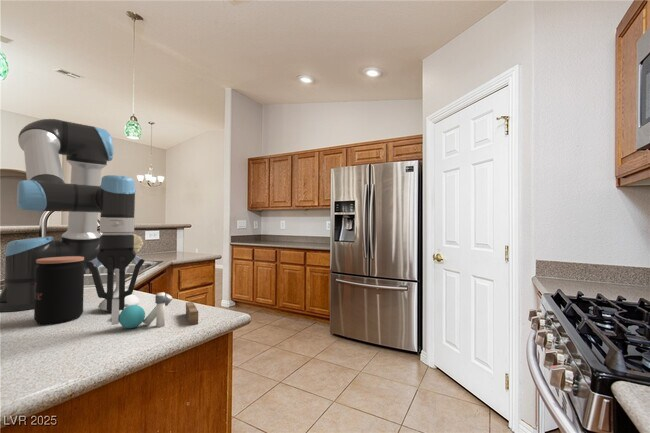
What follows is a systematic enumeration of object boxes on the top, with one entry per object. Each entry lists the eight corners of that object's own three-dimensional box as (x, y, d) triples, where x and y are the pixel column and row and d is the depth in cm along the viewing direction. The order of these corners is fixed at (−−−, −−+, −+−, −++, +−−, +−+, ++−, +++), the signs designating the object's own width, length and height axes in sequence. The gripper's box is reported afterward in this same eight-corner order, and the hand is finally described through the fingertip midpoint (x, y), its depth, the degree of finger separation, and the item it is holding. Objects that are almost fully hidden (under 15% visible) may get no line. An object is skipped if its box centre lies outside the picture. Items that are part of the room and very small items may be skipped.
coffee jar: (44, 316, 89) (46, 257, 90) (88, 312, 94) (89, 255, 94) (25, 327, 80) (27, 261, 80) (75, 322, 84) (76, 259, 84)
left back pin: (110, 320, 85) (119, 310, 94) (119, 322, 86) (128, 312, 94) (114, 311, 85) (123, 302, 94) (124, 314, 86) (132, 305, 95)
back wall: (185, 313, 92) (185, 302, 92) (192, 313, 93) (192, 301, 93) (190, 325, 82) (190, 312, 82) (198, 324, 83) (198, 311, 83)
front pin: (141, 319, 82) (165, 292, 85) (149, 324, 83) (173, 297, 86) (141, 322, 80) (165, 294, 83) (149, 327, 81) (173, 299, 84)
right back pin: (154, 325, 82) (155, 292, 82) (165, 323, 83) (166, 291, 83) (155, 328, 79) (155, 294, 80) (165, 326, 81) (166, 293, 81)
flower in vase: (88, 314, 92) (90, 234, 93) (114, 304, 103) (115, 232, 104) (131, 313, 92) (132, 234, 93) (151, 304, 104) (153, 232, 104)
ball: (126, 300, 82) (150, 303, 84) (121, 322, 82) (145, 324, 84) (118, 307, 76) (143, 310, 78) (112, 330, 76) (138, 333, 78)
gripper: (83, 234, 72) (81, 332, 72) (145, 234, 79) (144, 323, 78) (89, 233, 79) (86, 323, 78) (146, 233, 85) (144, 315, 85)
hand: (115, 322), depth 78 cm, fingers closed
